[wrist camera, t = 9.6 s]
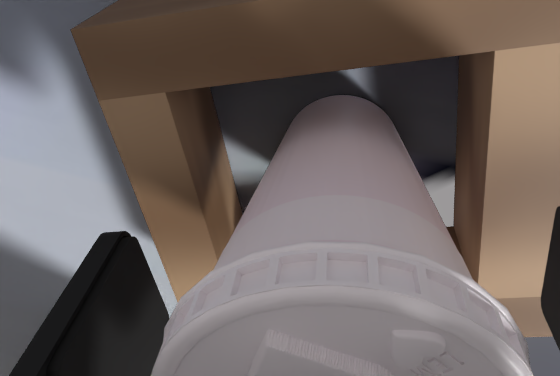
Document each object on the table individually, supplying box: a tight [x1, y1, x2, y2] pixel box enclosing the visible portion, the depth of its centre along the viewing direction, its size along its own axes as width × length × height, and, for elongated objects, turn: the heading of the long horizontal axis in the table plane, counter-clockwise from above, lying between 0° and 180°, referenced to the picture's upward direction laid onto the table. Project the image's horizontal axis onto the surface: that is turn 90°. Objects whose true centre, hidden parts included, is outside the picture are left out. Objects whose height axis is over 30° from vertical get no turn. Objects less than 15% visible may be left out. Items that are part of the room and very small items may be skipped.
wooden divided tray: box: [71, 0, 560, 337], centre depth 13 cm, size 11×22×4 cm, turn 100°
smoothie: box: [151, 95, 534, 376], centre depth 10 cm, size 6×6×14 cm
